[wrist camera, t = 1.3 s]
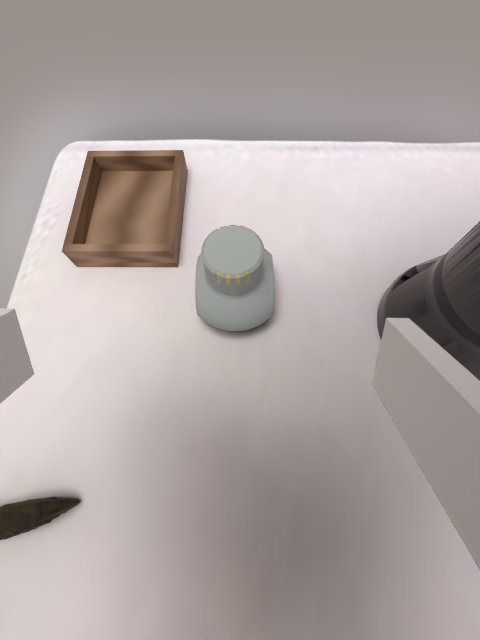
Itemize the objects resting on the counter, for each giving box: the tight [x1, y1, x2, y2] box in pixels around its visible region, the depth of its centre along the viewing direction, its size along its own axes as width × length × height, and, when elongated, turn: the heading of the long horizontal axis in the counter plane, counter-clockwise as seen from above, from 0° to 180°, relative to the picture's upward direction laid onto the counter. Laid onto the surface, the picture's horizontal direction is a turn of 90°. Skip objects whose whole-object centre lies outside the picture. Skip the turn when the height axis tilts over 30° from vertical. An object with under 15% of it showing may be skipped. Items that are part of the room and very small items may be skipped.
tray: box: [62, 150, 188, 267], centre depth 41 cm, size 13×16×4 cm
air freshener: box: [196, 225, 274, 331], centre depth 34 cm, size 11×8×10 cm
